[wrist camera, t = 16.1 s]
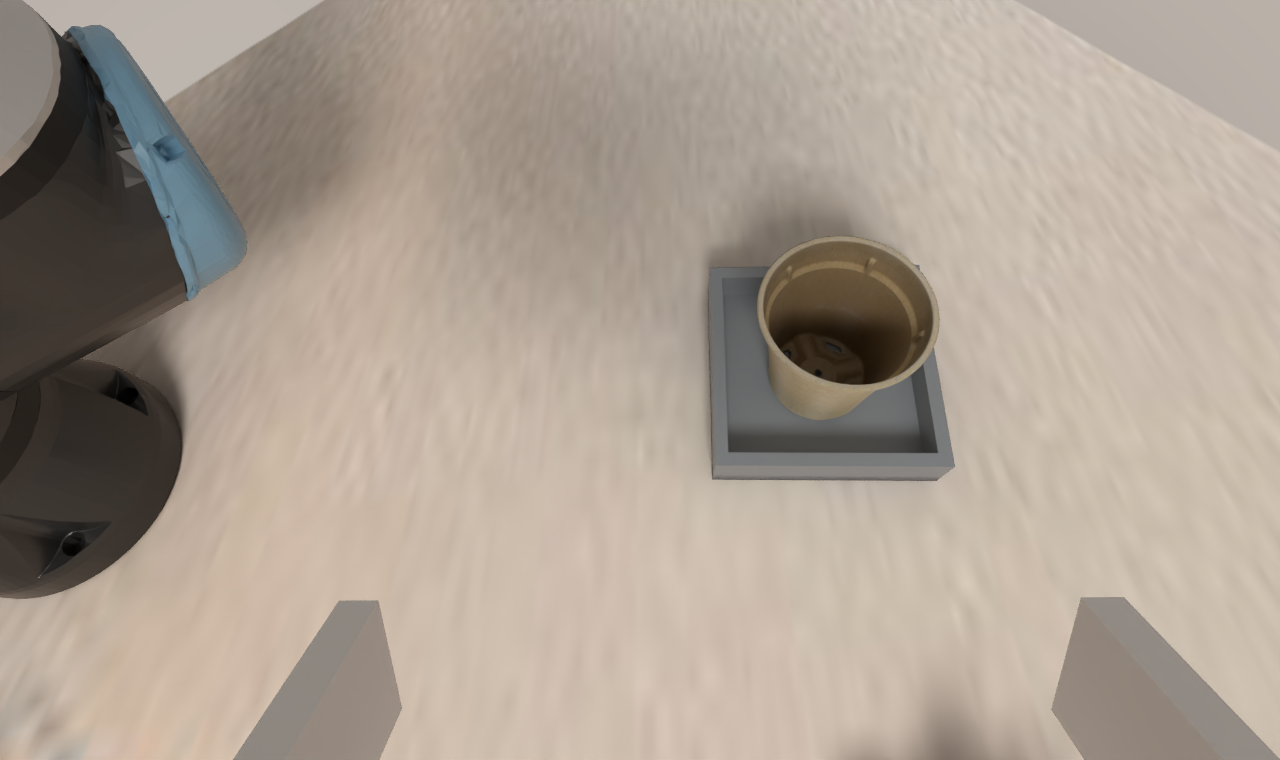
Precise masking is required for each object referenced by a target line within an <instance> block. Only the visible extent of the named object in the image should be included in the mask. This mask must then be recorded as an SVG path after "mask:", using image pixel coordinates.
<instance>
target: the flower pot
mask: <svg viewBox="0 0 1280 760" xmlns="http://www.w3.org/2000/svg"><path fill="white" fill-rule="evenodd" d="M757 315H758V321H759V325H760V329H761V332H762V334H763V336H764V338H765V340H766V342H767V344H768V350H769V368H768V376H769V381H770V385H771V387H772V389H773V392H774V394H775V396H776V397H777V399H778V400H779V401H780V402H781V403H782V404H783V405H784V406H785V407H786V408H787V409H789V410H790V411H792V412H793V413H795V414H797V415H799V416H802V417H805V418H808V419H813V420H827V419H833V418H837V417H840V416H843V415H845V414H848V413H849V412H850V411H852V410H853V409H854V408H855V407H856V406H857V405H859V404H860V403H861V402H862V401H863V400H864V399H866V398H867V397H868V396H869V395H870V394H872V393H873V392H874V391H875V390H879V389H883V388H886V387H889V386H892V385H894V384H896V383H898V382H900V381H902V380H904V379H906V378H907V377H909V376H910V375H911V374H913V373H914V372H915V371H916V370H917V369H918V368H919V367H920V366H921V365H922V364H923V363H924V362H925V360H926V359H927V358H928V356H929V355H930V353H931V352H932V349H933V347H934V345H935V342H936V340H937V335H938V332H939V320H940V319H939V309H938V304H937V300H936V297H935V295H934V292H933V290H932V288H931V286H930V284H929V283H928V281H927V279H926V278H925V276H924V275H923V273H922V272H920V270H919V269H918V268H917V267H916V266H915V265H914V264H913V263H912V262H911V261H910V260H909V259H907V258H906V257H904V256H903V255H901V254H900V253H898V252H897V251H895V250H894V249H892V248H889V247H887V246H885V245H884V244H880V243H877V242H875V241H871V240H868V239H863V238H858V237H851V236H831V237H830V236H828V237H822V238H817V239H813V240H810V241H807V242H804V243H802V244H800V245H798V246H796V247H794V248H792V249H790V250H788V251H787V252H786V253H784V254H783V255H782V256H781V257H779V258H778V260H776V261H775V262H774V263H773V265H772V266H771V267H770V269H769V270H768V272H767V273H766V275H765V277H764V279H763V281H762V283H761V286H760V289H759V294H758V300H757ZM826 343H828V344H831V345H833V346H836V347H837V348H839V349H840V351H841V353H838V352H836V351H834V350H833V351H831V349H830V348H828V347H826ZM786 351H788V352H790V354H791V355H790V357H789V358H787V357H786V356H785V355H784V353H785V352H786ZM816 370H819V371H820V372H821V376H816V374H815V371H816Z"/></svg>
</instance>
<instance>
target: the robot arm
mask: <svg viewBox="0 0 1280 760" xmlns="http://www.w3.org/2000/svg"><path fill="white" fill-rule="evenodd" d="M246 250H247V237H246V233H245V230H244V228H243V226H242V224H241V222H240V221H239V219H238V217H237V215H236V214H235V212H234V210H233V208H232V207H231V205H230V204H229V202H228V200H227V199H226V197H225V195H224V194H223V192H222V191H221V189H220V187H219V186H218V184H217V183H216V181H215V179H214V178H213V176H212V175H211V173H210V172H209V170H208V169H207V167H206V165H205V164H204V162H203V161H202V159H201V158H200V156H199V155H198V153H197V152H196V150H195V149H194V147H193V146H192V144H191V142H190V141H189V139H188V138H187V136H186V135H185V133H184V132H183V130H182V129H181V127H180V126H179V124H178V123H177V121H176V120H175V118H174V117H173V116H172V114H171V113H170V111H169V110H168V108H167V107H166V105H165V104H164V102H163V101H162V99H161V98H160V96H159V95H158V93H157V92H156V90H155V89H154V87H153V86H152V85H151V83H150V82H149V80H148V79H147V77H146V76H145V74H144V73H143V71H142V70H141V69H140V67H139V66H138V64H137V63H136V62H135V60H134V59H133V57H132V56H131V55H130V53H129V52H128V51H127V49H126V48H125V47H124V46H123V44H122V43H121V42H120V41H119V40H118V39H117V38H116V37H115V35H114V33H112V32H111V31H110V30H109V29H107V28H105V27H103V26H101V25H90V26H87V27H83V28H82V27H78V26H72V27H71V28H70V29H68V31H66V32H65V34H64V35H63V36H62V37H61V36H60V35H59V34H58V33H57V32H56V31H55V30H54V29H53V28H52V27H51V26H50V25H49V24H48V23H47V22H46V21H45V20H44V19H43V18H42V17H41V16H40V15H39V14H38V13H37V12H36V11H34V10H33V9H32V8H31V7H30V6H29V5H27V4H26V3H25V2H24V1H22V0H0V597H3V598H14V599H27V598H36V597H42V596H47V595H51V594H55V593H58V592H61V591H64V590H67V589H69V588H72V587H74V586H76V585H79V584H81V583H83V582H85V581H87V580H88V579H90V578H92V577H94V576H95V575H97V574H99V573H100V572H102V571H103V570H105V569H106V568H107V567H109V566H110V565H112V564H113V563H114V562H115V561H117V560H118V559H119V558H120V557H121V556H123V555H124V554H125V553H126V552H127V551H128V550H129V549H130V548H131V547H132V546H133V545H134V544H135V543H136V542H137V541H138V540H139V539H140V538H141V537H142V535H143V534H144V533H145V532H146V531H147V529H148V528H149V527H150V525H151V524H152V523H153V521H154V520H155V518H156V517H157V515H158V514H159V512H160V510H161V509H162V507H163V505H164V503H165V501H166V499H167V497H168V495H169V493H170V491H171V488H172V486H173V483H174V480H175V477H176V473H177V469H178V464H179V458H180V432H179V427H178V423H177V420H176V417H175V414H174V412H173V410H172V408H171V406H170V404H169V403H168V402H167V400H166V399H165V398H164V397H163V395H162V394H161V393H160V392H159V391H158V390H156V389H155V388H154V387H152V386H151V385H149V384H148V383H146V382H144V381H142V380H141V379H139V378H137V377H135V376H133V375H131V374H130V373H128V372H126V371H124V370H122V369H120V368H117V367H114V366H111V365H108V364H105V363H101V362H96V361H90V360H84V359H80V358H82V357H84V356H85V355H87V354H89V353H91V352H93V351H95V350H96V349H98V348H100V347H102V346H104V345H106V344H108V343H109V342H111V341H113V340H115V339H117V338H119V337H121V336H122V335H124V334H126V333H128V332H130V331H132V330H133V329H135V328H137V327H139V326H141V325H143V324H145V323H146V322H148V321H150V320H152V319H154V318H156V317H158V316H159V315H161V314H163V313H165V312H167V311H169V310H170V309H172V308H174V307H176V306H178V305H180V304H182V303H183V302H185V301H190V300H192V299H194V298H195V297H196V296H197V295H198V292H199V291H200V290H202V289H203V288H205V287H206V286H208V285H209V284H211V283H212V282H214V281H215V280H217V279H218V278H220V277H222V276H223V275H225V274H226V273H228V272H229V271H231V270H232V269H234V268H235V267H237V266H238V265H239V264H240V262H241V261H242V259H243V257H244V256H245V254H246ZM401 709H402V706H401V701H400V697H399V692H398V688H397V683H396V679H395V674H394V669H393V665H392V660H391V656H390V651H389V647H388V642H387V638H386V633H385V628H384V624H383V619H382V615H381V610H380V606H379V601H339V602H338V603H337V605H336V606H335V608H334V609H333V611H332V612H331V614H330V615H329V617H328V618H327V620H326V621H325V623H324V624H323V626H322V627H321V629H320V630H319V632H318V633H317V635H316V636H315V638H314V639H313V641H312V642H311V644H310V645H309V647H308V648H307V650H306V651H305V653H304V654H303V656H302V657H301V659H300V660H299V662H298V663H297V665H296V666H295V668H294V669H293V671H292V672H291V674H290V675H289V677H288V678H287V680H286V681H285V683H284V684H283V686H282V687H281V689H280V690H279V692H278V693H277V695H276V696H275V698H274V699H273V701H272V702H271V704H270V705H269V707H268V708H267V710H266V711H265V713H264V714H263V716H262V717H261V719H260V720H259V722H258V723H257V725H256V726H255V728H254V729H253V731H252V732H251V734H250V735H249V737H248V738H247V740H246V741H245V743H244V744H243V746H242V747H241V749H240V750H239V752H238V753H237V755H236V756H235V758H234V759H233V760H379V759H380V757H381V754H382V752H383V750H384V748H385V745H386V743H387V741H388V739H389V736H390V734H391V732H392V730H393V727H394V725H395V723H396V720H397V718H398V716H399V714H400V711H401ZM1051 710H1052V711H1053V713H1054V714H1055V716H1056V717H1057V719H1058V720H1059V722H1060V723H1061V725H1062V726H1063V728H1064V729H1065V731H1066V732H1067V734H1068V736H1069V737H1070V739H1071V740H1072V742H1073V743H1074V745H1075V746H1076V748H1077V749H1078V751H1079V752H1080V754H1081V755H1082V757H1083V758H1084V760H1280V759H1279V758H1278V757H1277V756H1276V755H1275V754H1274V753H1273V752H1272V751H1271V750H1270V749H1269V747H1268V746H1267V745H1266V744H1265V743H1264V742H1263V741H1262V740H1261V739H1260V738H1259V737H1258V736H1257V735H1256V734H1255V733H1254V732H1253V731H1252V730H1251V729H1250V728H1249V727H1248V726H1247V725H1246V724H1245V723H1244V721H1243V720H1242V719H1241V718H1240V717H1239V716H1238V715H1237V714H1236V713H1235V712H1234V711H1233V710H1232V709H1231V708H1230V707H1229V706H1228V705H1227V704H1226V703H1225V702H1224V701H1223V700H1222V699H1221V698H1220V697H1219V696H1218V694H1217V693H1216V692H1215V691H1214V690H1213V689H1212V688H1211V687H1210V686H1209V685H1208V684H1207V683H1206V682H1205V681H1204V680H1203V679H1202V678H1201V677H1200V676H1199V675H1198V674H1197V673H1196V672H1195V671H1194V670H1193V669H1192V667H1191V666H1190V665H1189V664H1188V663H1187V662H1186V661H1185V660H1184V659H1183V658H1182V657H1181V656H1180V655H1179V654H1178V653H1177V652H1176V651H1175V650H1174V649H1173V648H1172V647H1171V646H1170V645H1169V644H1168V643H1167V641H1166V640H1165V639H1164V638H1163V637H1162V636H1161V635H1160V634H1159V633H1158V632H1157V631H1156V630H1155V629H1154V628H1153V627H1152V626H1151V625H1150V624H1149V623H1148V622H1147V621H1146V620H1145V619H1144V618H1143V617H1142V616H1141V614H1140V613H1139V612H1138V611H1137V610H1136V609H1135V608H1134V607H1133V606H1132V605H1131V604H1130V603H1129V602H1128V601H1127V600H1126V599H1125V598H1124V597H1092V598H1081V600H1080V604H1079V607H1078V611H1077V615H1076V619H1075V622H1074V626H1073V630H1072V634H1071V638H1070V641H1069V645H1068V649H1067V653H1066V656H1065V660H1064V664H1063V668H1062V671H1061V675H1060V679H1059V683H1058V686H1057V690H1056V694H1055V698H1054V702H1053V705H1052V709H1051Z"/></svg>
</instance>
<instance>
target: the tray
mask: <svg viewBox="0 0 1280 760" xmlns="http://www.w3.org/2000/svg"><path fill="white" fill-rule="evenodd" d="M915 266H916V267H917V268H918V269H919V270H920V268H919V265H915ZM769 269H770V267H716V268H710V270H709V283H708V319H709V360H710V401H711V442H712V479H726V480H892V481H937V480H938V479H939V478H941V477H942V476H943V475H945V474H946V473H947V472H949V471H950V470H951V469H953V468H954V467H955V464H954V458H953V453H952V447H951V442H950V436H949V430H948V425H947V419H946V414H945V408H944V402H943V397H942V391H941V386H940V380H939V374H938V369H937V363H936V357H935V352H934V347H933V349H932V352H931V353H930V355H929V356H928V358H927V359H926V360H925V362H924V363H923V364H922V365H921V366H920V367H919V368H918V369H917V370H916V371H915V372H914V373H913V374H911V375H910V376H909V377H907V378H906V379H904V380H902V381H900V382H898V383H896V384H894V385H892V386H889V387H886V388H883V389H879V390H875V391H874V392H873V393H872V394H870V395H869V396H868V397H867V398H866V399H864V400H863V401H862V402H861V403H860V404H859V405H857V406H856V407H855V408H854V409H853V410H852V411H850V412H849V413H848V414H845V415H843V416H840V417H837V418H833V419H827V420H813V419H808V418H805V417H802V416H799V415H797V414H795V413H793V412H792V411H790V410H789V409H787V408H786V407H785V406H784V405H783V404H782V403H781V402H780V401H779V400H778V399H777V397H776V396H775V394H774V392H773V389H772V387H771V385H770V381H769V376H768V368H769V350H768V344H767V342H766V340H765V338H764V336H763V334H762V332H761V329H760V325H759V321H758V315H757V300H758V294H759V289H760V286H761V283H762V281H763V279H764V277H765V275H766V273H767V272H768V270H769ZM826 347H828V348H830V349H831V351H833V350H834V351H836V352H838V353H841V351H840V349H839V348H837V347H836V346H833V345H831V344H828V343H826ZM784 355H785V356H786V357H787V358H789V357H790V355H791V354H790V352H788V351H786V352H785V353H784ZM815 374H816V376H821V372H820V371H819V370H816V371H815Z"/></svg>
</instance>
